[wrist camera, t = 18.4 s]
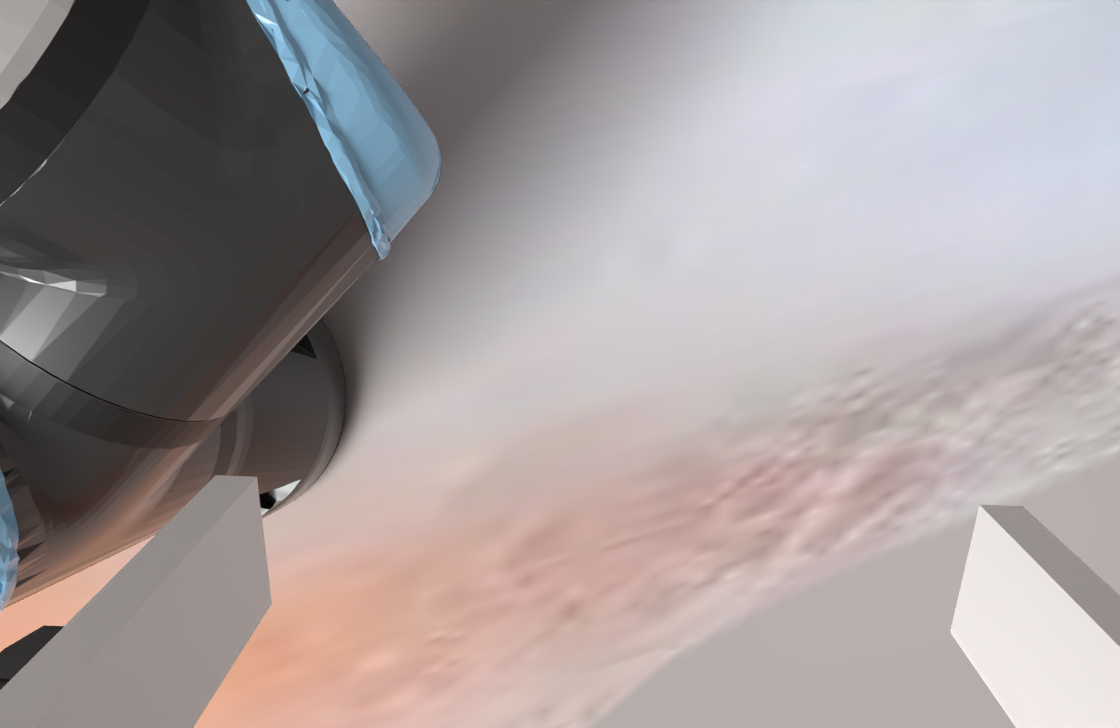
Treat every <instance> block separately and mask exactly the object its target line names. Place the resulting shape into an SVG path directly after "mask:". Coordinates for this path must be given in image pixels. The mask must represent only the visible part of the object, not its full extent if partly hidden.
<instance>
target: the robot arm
mask: <svg viewBox="0 0 1120 728" xmlns="http://www.w3.org/2000/svg"><path fill="white" fill-rule="evenodd" d="M440 168H441V154H440V150H439V146H438V143H437V140H436V138H435V136H434V134H433V132H432V130H431V128H430V127H429V125H428V124H427V122H426V121H425V119H424V118H423V116H422V115H421V113H420V112H419V111H418V109H417V108H416V107H415V105H414V104H413V102H412V101H411V100H410V98H409V97H408V96H407V94H406V93H405V92H404V90H403V89H402V88H401V86H400V85H399V84H398V82H397V81H396V80H395V78H394V77H393V76H392V74H391V73H390V72H389V71H388V69H387V68H386V67H385V65H384V64H383V63H382V61H381V60H380V59H379V58H378V56H377V55H376V54H375V53H374V51H373V50H372V49H371V48H370V46H369V45H368V44H367V43H366V41H365V40H364V39H363V38H362V36H361V35H360V34H359V33H358V31H357V30H356V29H355V28H354V26H353V25H352V24H351V23H350V21H349V20H348V19H347V18H346V16H345V15H344V14H343V13H342V11H341V10H340V9H339V8H338V7H337V5H336V4H335V3H334V2H333V1H332V0H0V612H1V611H2V610H3V609H4V608H6V607H8V606H10V605H12V604H14V603H16V602H18V601H20V600H22V599H24V598H26V597H28V596H30V595H32V594H35V593H37V592H39V591H41V590H43V589H45V588H47V587H49V586H51V585H53V584H55V583H57V582H59V581H61V580H63V579H65V578H67V577H69V576H72V575H74V574H76V573H78V572H80V571H82V570H84V569H86V568H88V567H90V566H92V565H94V564H96V563H98V562H100V561H102V560H104V559H106V558H109V557H111V556H113V555H115V554H117V553H119V552H121V551H123V550H125V549H127V548H129V547H131V546H133V545H135V544H137V543H139V542H141V541H144V540H146V539H148V538H150V537H152V536H154V535H155V536H154V537H153V538H152V539H151V540H150V541H149V542H148V543H147V544H146V545H145V546H144V547H143V548H142V549H141V550H140V551H139V552H138V553H137V554H136V555H135V556H134V557H133V558H132V559H131V560H130V561H129V562H128V563H127V564H126V565H125V566H124V567H123V568H122V569H121V570H120V571H119V572H118V573H117V574H116V575H115V576H114V577H113V578H112V579H111V580H110V581H109V582H108V583H107V584H106V585H105V586H104V587H103V588H102V589H101V590H100V591H99V592H98V593H97V594H96V595H95V596H94V597H93V598H92V599H91V600H90V601H89V602H88V603H87V604H86V605H85V606H84V607H83V608H82V609H81V610H80V611H79V612H78V613H77V614H76V615H75V616H74V617H73V618H72V619H71V620H70V621H69V622H68V623H67V624H66V625H65V626H42V627H41V628H39V629H37V630H36V631H34V632H32V633H31V634H29V635H27V636H25V637H24V638H22V639H20V640H19V641H17V642H15V643H14V644H12V645H10V646H8V647H7V648H5V649H4V650H3V651H2V652H0V728H193V727H194V725H195V724H196V722H197V721H198V719H199V717H200V716H201V714H202V713H203V711H204V710H205V708H206V706H207V705H208V703H209V702H210V700H211V698H212V697H213V695H214V694H215V692H216V691H217V689H218V687H219V686H220V684H221V683H222V681H223V679H224V678H225V676H226V675H227V673H228V672H229V670H230V668H231V667H232V665H233V664H234V662H235V661H236V659H237V657H238V656H239V654H240V653H241V651H242V649H243V648H244V646H245V645H246V643H247V642H248V640H249V638H250V637H251V635H252V634H253V632H254V630H255V629H256V627H257V626H258V624H259V623H260V621H261V619H262V618H263V616H264V615H265V613H266V611H267V610H268V608H269V607H270V605H271V604H272V602H271V593H270V585H269V576H268V567H267V559H266V550H265V542H264V533H263V524H262V518H264V517H266V516H268V515H270V514H272V513H273V512H275V511H277V510H279V509H281V508H282V507H284V506H286V505H287V504H289V503H291V502H292V501H294V500H295V499H296V498H298V497H299V496H300V495H302V494H303V493H304V492H305V491H306V490H307V489H308V488H309V487H310V486H311V485H312V484H313V483H314V482H315V481H316V480H317V478H318V477H319V476H320V475H321V473H322V472H323V470H324V469H325V468H326V466H327V464H328V463H329V461H330V459H331V457H332V455H333V453H334V451H335V448H336V446H337V444H338V441H339V438H340V435H341V431H342V427H343V421H344V416H345V404H346V392H345V380H344V374H343V369H342V364H341V361H340V357H339V354H338V351H337V348H336V346H335V344H334V341H333V339H332V337H331V335H330V333H329V331H328V329H327V328H326V326H325V324H324V323H323V321H322V320H321V317H322V316H323V315H324V314H325V313H326V312H327V311H328V310H329V309H330V308H331V307H332V306H333V305H334V304H335V303H336V302H337V300H338V299H339V298H340V297H341V296H342V295H343V294H344V293H345V292H346V291H347V290H348V289H349V288H350V287H351V286H352V285H353V283H354V282H355V281H356V280H357V279H358V278H359V277H360V276H361V275H362V274H363V273H364V272H365V271H366V270H367V269H368V267H369V266H370V265H371V264H372V263H373V262H374V261H375V260H376V259H377V260H379V261H380V260H381V261H382V260H383V259H384V258H386V257H387V255H388V253H389V250H390V243H391V242H392V241H393V239H394V238H395V237H396V236H397V235H398V234H399V232H400V231H401V230H402V229H403V228H404V227H405V225H406V224H407V223H408V222H409V221H410V219H411V218H412V217H413V216H414V215H415V214H416V212H417V211H418V210H419V209H420V208H421V207H422V205H423V204H424V203H425V202H426V201H427V200H428V198H429V197H430V196H431V194H432V193H433V191H434V190H435V188H436V186H437V184H438V181H439V178H440ZM950 633H951V634H952V636H953V637H954V639H955V640H956V641H957V643H958V644H959V646H960V647H961V649H962V650H963V652H964V653H965V654H966V656H967V657H968V659H969V660H970V662H971V663H972V664H973V666H974V667H975V669H976V670H977V672H978V673H979V675H980V676H981V678H982V679H983V680H984V682H985V683H986V685H987V686H988V688H989V689H990V691H991V692H992V694H993V695H994V696H995V698H996V699H997V701H998V702H999V704H1000V705H1001V706H1002V708H1003V709H1004V711H1005V712H1006V714H1007V715H1008V717H1009V718H1010V720H1011V721H1012V723H1013V724H1014V725H1015V727H1016V728H1120V595H1119V594H1118V593H1116V592H1115V591H1114V590H1113V589H1112V588H1111V587H1110V586H1109V585H1108V584H1107V583H1105V581H1103V580H1102V579H1101V578H1100V577H1099V576H1098V575H1097V574H1096V573H1095V572H1094V571H1092V570H1091V569H1090V568H1089V567H1088V566H1087V565H1086V564H1085V563H1084V562H1083V561H1082V560H1081V559H1079V558H1078V557H1077V556H1076V555H1075V554H1074V553H1073V552H1072V551H1071V550H1070V549H1069V548H1067V547H1066V546H1065V545H1064V544H1063V543H1062V542H1061V541H1060V540H1059V539H1058V538H1057V537H1055V536H1054V535H1053V534H1052V533H1051V532H1050V531H1049V530H1048V529H1047V528H1046V527H1045V526H1044V525H1042V524H1041V523H1040V522H1039V521H1038V520H1037V519H1036V518H1035V517H1034V516H1033V515H1032V514H1030V513H1029V512H1028V511H1027V510H1026V509H1025V508H1024V507H1023V506H997V505H980V506H979V510H978V514H977V519H976V523H975V527H974V532H973V536H972V540H971V545H970V549H969V553H968V557H967V562H966V566H965V571H964V575H963V579H962V583H961V588H960V592H959V596H958V600H957V605H956V609H955V613H954V618H953V622H952V627H951V631H950Z"/></svg>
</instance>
